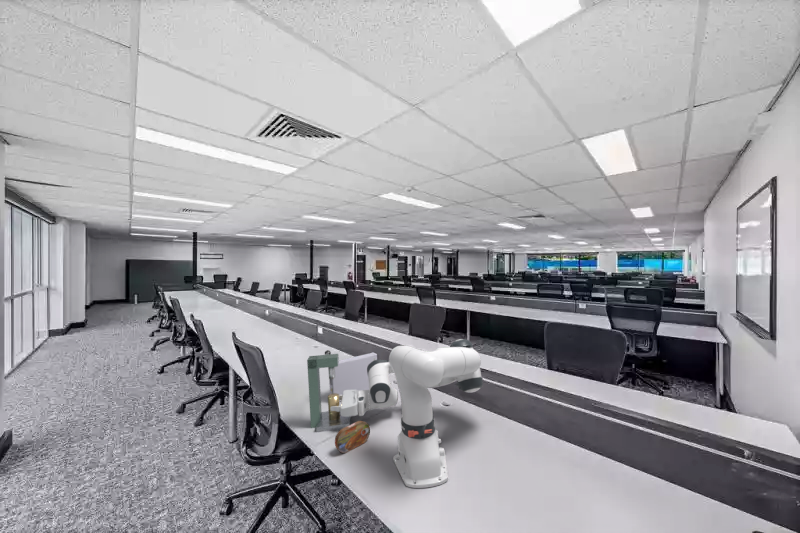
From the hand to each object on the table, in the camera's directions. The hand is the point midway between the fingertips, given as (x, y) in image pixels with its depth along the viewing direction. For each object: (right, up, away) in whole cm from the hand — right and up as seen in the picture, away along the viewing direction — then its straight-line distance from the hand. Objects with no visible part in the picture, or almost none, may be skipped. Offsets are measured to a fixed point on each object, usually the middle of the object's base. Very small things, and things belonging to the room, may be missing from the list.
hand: (331, 403), depth 140 cm
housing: (+1, -6, 0) cm, 7 cm away
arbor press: (-1, -8, +3) cm, 9 cm away
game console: (+7, -8, +29) cm, 31 cm away
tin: (+13, -8, -20) cm, 25 cm away
